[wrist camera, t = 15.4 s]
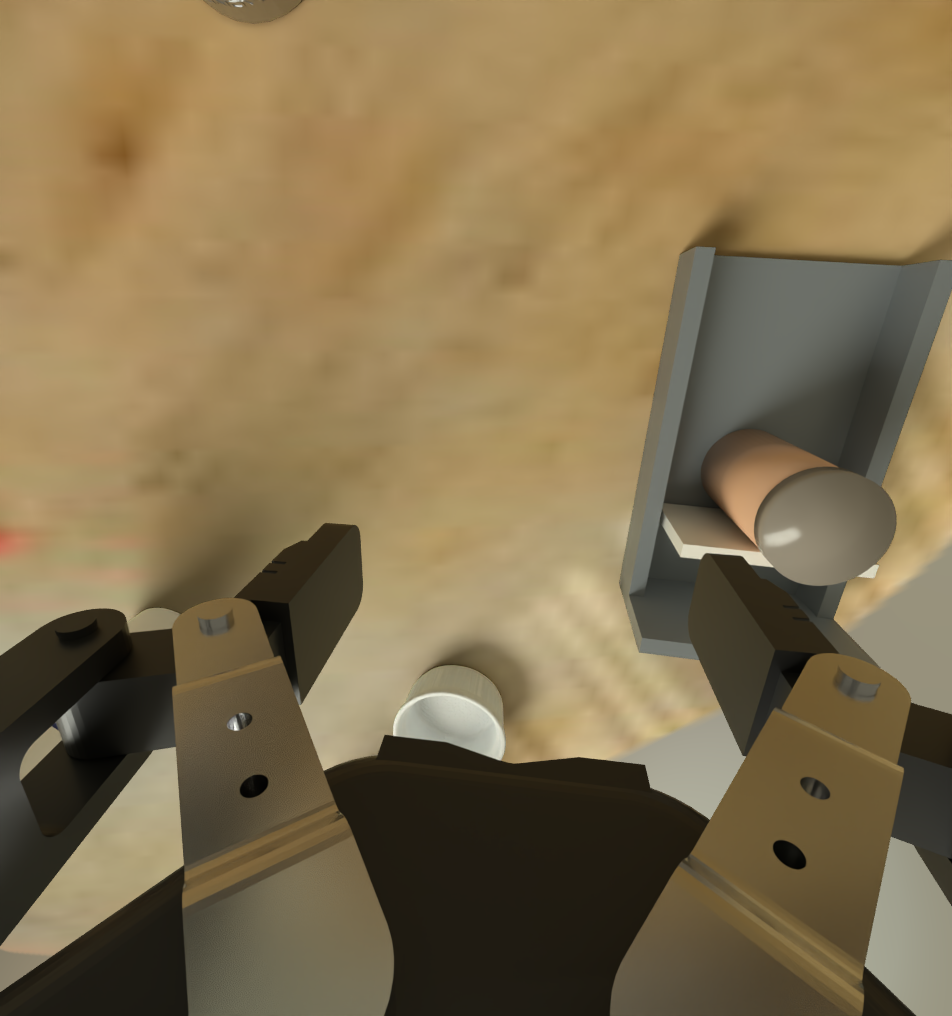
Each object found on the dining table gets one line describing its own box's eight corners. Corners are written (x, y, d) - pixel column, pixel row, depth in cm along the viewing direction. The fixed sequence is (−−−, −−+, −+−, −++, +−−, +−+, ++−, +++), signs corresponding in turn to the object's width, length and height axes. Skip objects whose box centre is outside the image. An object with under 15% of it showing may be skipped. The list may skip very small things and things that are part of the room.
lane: (679, 254, 30) (727, 230, 22) (915, 267, 29) (1054, 247, 21) (619, 583, 38) (638, 652, 30) (803, 604, 37) (874, 682, 29)
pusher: (657, 502, 35) (683, 544, 28) (814, 518, 34) (879, 565, 27) (655, 513, 35) (680, 557, 29) (811, 529, 34) (874, 578, 28)
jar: (708, 424, 33) (780, 468, 23) (800, 430, 32) (914, 479, 22) (691, 505, 35) (751, 579, 25) (777, 513, 34) (873, 591, 24)
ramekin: (528, 721, 43) (526, 761, 39) (442, 755, 46) (432, 796, 42) (473, 641, 41) (465, 675, 37) (386, 681, 44) (370, 717, 40)
